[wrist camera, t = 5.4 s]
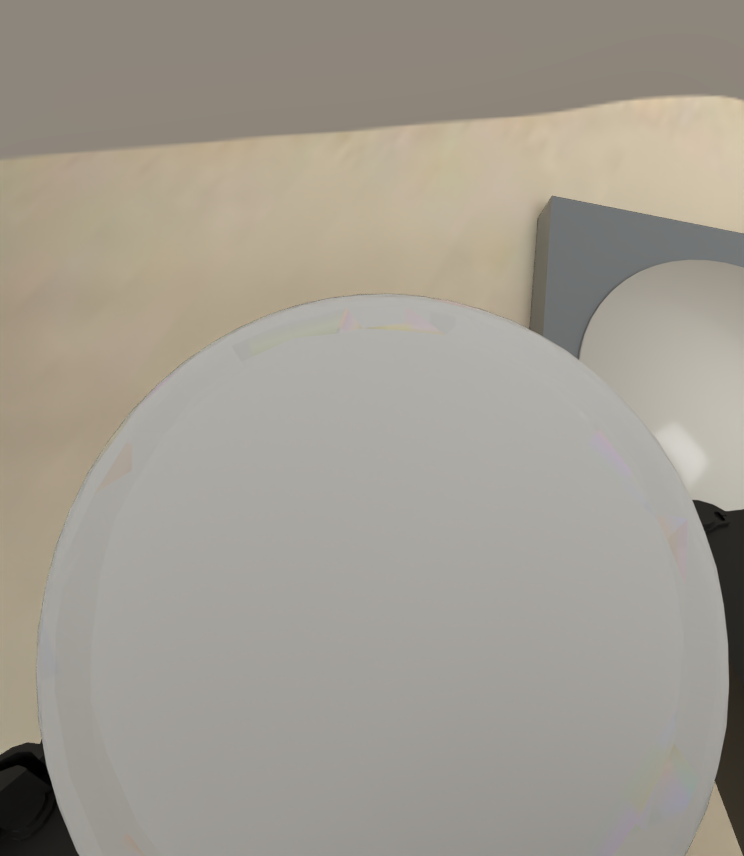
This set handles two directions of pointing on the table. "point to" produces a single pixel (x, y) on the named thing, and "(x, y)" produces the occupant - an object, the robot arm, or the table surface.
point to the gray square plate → (653, 328)
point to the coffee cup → (382, 604)
